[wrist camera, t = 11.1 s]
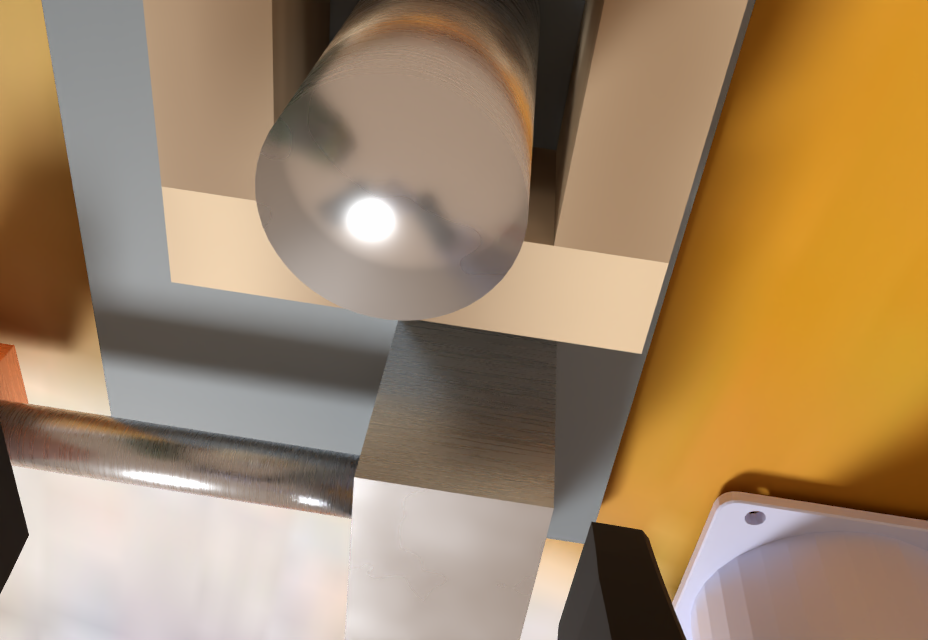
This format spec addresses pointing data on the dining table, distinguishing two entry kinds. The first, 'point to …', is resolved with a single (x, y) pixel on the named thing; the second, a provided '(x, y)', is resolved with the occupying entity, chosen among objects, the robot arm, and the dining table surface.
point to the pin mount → (453, 486)
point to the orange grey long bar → (170, 454)
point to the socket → (552, 171)
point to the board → (272, 319)
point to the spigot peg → (407, 157)
